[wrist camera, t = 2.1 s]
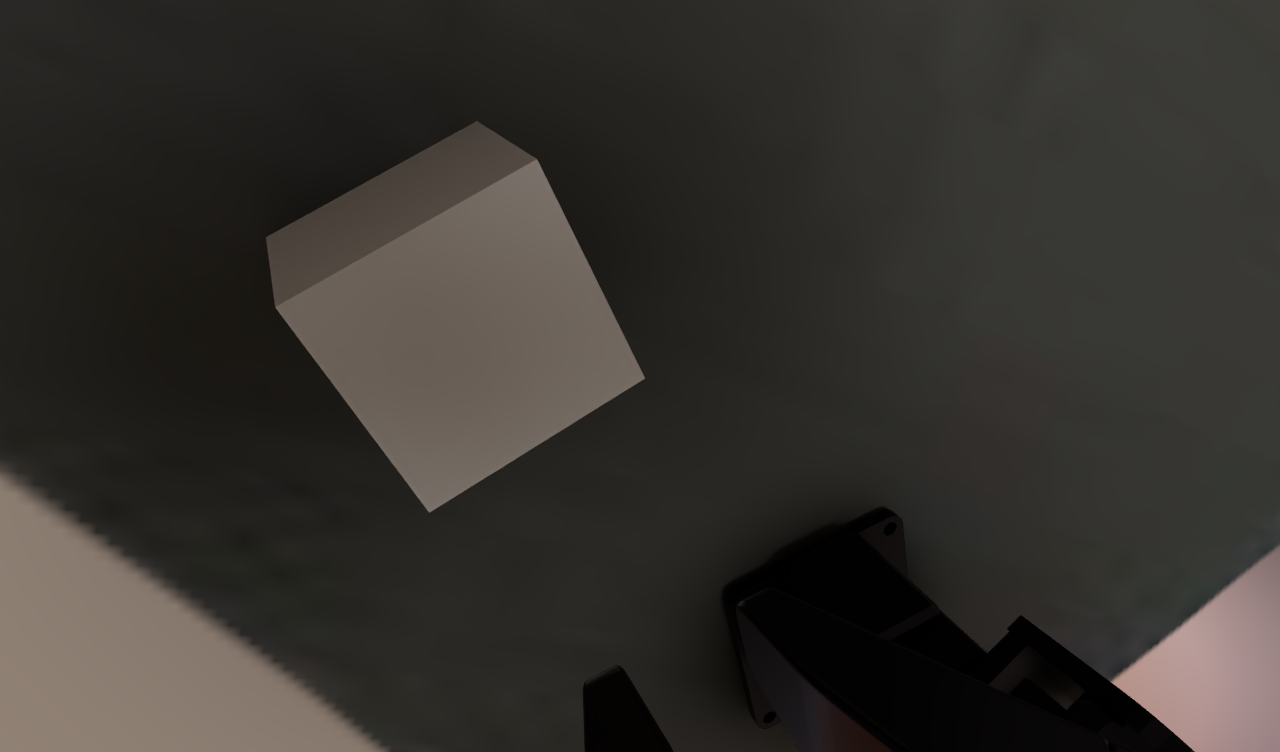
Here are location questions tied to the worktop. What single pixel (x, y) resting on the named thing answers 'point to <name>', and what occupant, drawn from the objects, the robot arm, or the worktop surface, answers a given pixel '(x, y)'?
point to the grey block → (452, 311)
